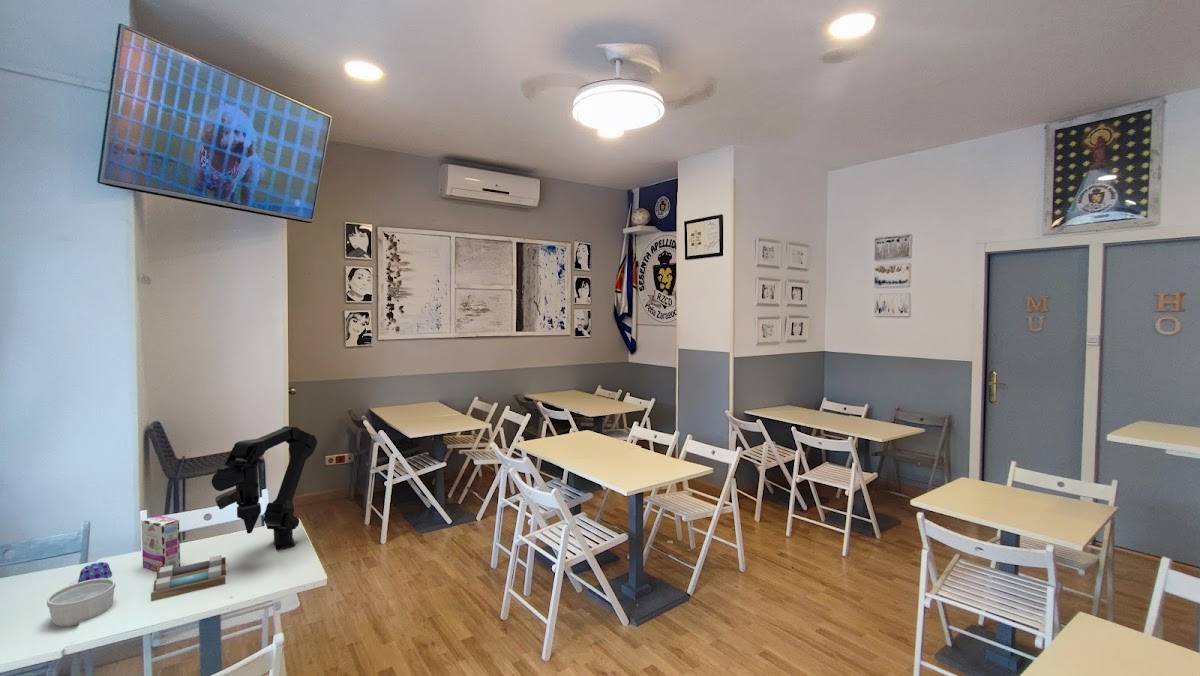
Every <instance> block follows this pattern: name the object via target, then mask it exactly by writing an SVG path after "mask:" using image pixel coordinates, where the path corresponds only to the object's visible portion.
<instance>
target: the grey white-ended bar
mask: <svg viewBox="0 0 1200 676" xmlns="http://www.w3.org/2000/svg"><path fill="white" fill-rule="evenodd" d="M222 558H223V556H222V555H221V554H219V555H215V556H209V560H205V562H204V561H201V563H199V562H196V564H195V563H191V565H190V564H187V565H186V566H185V565H181V566H182V567H181V566H180V567H177V568H173V565H171V566H166V567H161V568H160V571H159V579H160V578H165V577H169V576H171V577H172V576H177V575H181V574H186V573H190V572H195V571H200V570H204V569H209V568H211V567H215V566H220V565H221V566H222Z"/></svg>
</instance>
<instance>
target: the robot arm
mask: <svg viewBox="0 0 1200 676" xmlns="http://www.w3.org/2000/svg"><path fill="white" fill-rule="evenodd" d="M282 443H287V444H288V446H289V447H288V453H289V456H290V459H289V462H288V464H287V468H286V470H285V474H284V476H283V479H282V482H281V485H280V488H279V490H278V493H277V496H276V499H274V500H273V501H272V502H268V503H267V504H266V508H265V511H264V512H263V521H264V525H265V526H266V529H267V530H273V545H274V546H275V550H276V549H277V550H280V548H282V549H285V547H286V548H291V547H295V546H294V545H296V543H295V540H294V537H293V535H294V534H293V530H296V528H298V527H299V525H300V524H299V523H300V519H299V518H298V517H297V516H295V515H294V512H295V506H294V503H293V499H294V497H295V493H296V490H297V489H298V485H299V481H300V479H301V475H302V472H303V469H304V466H305V463H306V460H308V459H309V458H310V457H311V456H312V454H313V453H314V452H315V449H316V447H317V444H318V439H317V437H316V436H315V435H313V434H311V433H309V432H306V431H303V430H301V429H300V428H299V427H297V426H294V425H290V426H289V425H286V426H282V427H281V428H279V429H277V430H274V431H272V432H270V433H268V434H265V435H263V436H260V437H258V438H252V439H245V440H240V441H237V442H235V443H234V445H233V447H232V449H231V451H230V453H229V455H228V456H227V459H226V461H225V462H224V464H223V465H224V466H223V467H219V468H217V469H216V473H215V474H213V476H212V478H211V485H212V487H213V488H214V490H216V491H218V492H223V491H226V490H227V491H226V492H224V493H221V494H220V495H218V496H216V497H215V499H214V500H215V504H217V505H216V506H217V507H218V509H219V510H223V509H226V507H228V506H231V505H232V504H233V505H234V504H235V503H236V505H237V506H236V517H237V519H238V518H239V519H241V520H243V522H244V526H245V530H246V533H247V534H252V533H253V531H254V528H255V526H256V523H257V522H258V519H259V517H260V515H261V513H262V505H261V503H260V502H259V500H260V491H259V487H260V486H259V465H260V464H261V465H262V464H263V463H264V460H262V459H261V458H260V457H262V456H264V454H265V453H266V451H267V450H269V449H271V448H274V447H276V446H278V445H280V444H282ZM234 487H235V488H234ZM230 488H233V489H230ZM228 489H230V490H228ZM290 546H291V547H290Z"/></svg>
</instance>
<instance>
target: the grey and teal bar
mask: <svg viewBox="0 0 1200 676" xmlns="http://www.w3.org/2000/svg"><path fill="white" fill-rule="evenodd" d="M218 577H221V565H220V566H215V567H211V568H209V571H208V572H203V573H199V574H194V575H190V576H185V577H181V578H176V579H172V580H171V576H169V577H165V578H160V579H157V578H156V580H157V582H156V591H160V590H165V589H169V588H173V587H178V586H182V585H187V584H191V583H195V582H200V581H204V580H209V579H213V578H218Z"/></svg>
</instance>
